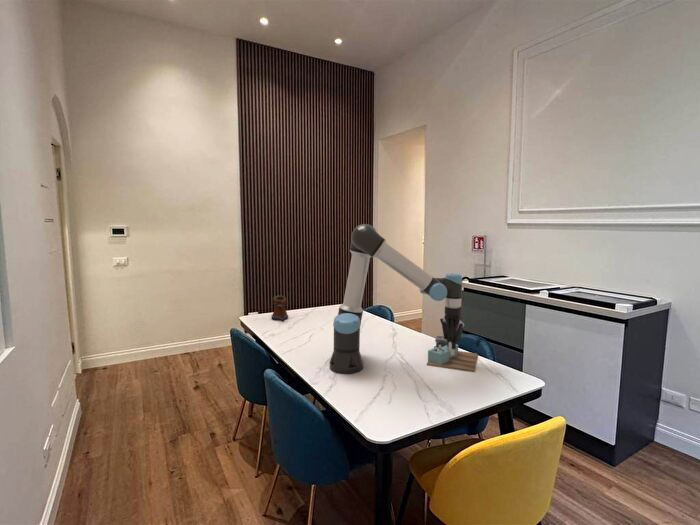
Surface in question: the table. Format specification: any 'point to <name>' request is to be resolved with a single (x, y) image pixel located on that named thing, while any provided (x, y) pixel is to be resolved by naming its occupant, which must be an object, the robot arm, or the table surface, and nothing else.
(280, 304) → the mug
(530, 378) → the table surface
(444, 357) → the link
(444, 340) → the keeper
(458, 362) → the board
